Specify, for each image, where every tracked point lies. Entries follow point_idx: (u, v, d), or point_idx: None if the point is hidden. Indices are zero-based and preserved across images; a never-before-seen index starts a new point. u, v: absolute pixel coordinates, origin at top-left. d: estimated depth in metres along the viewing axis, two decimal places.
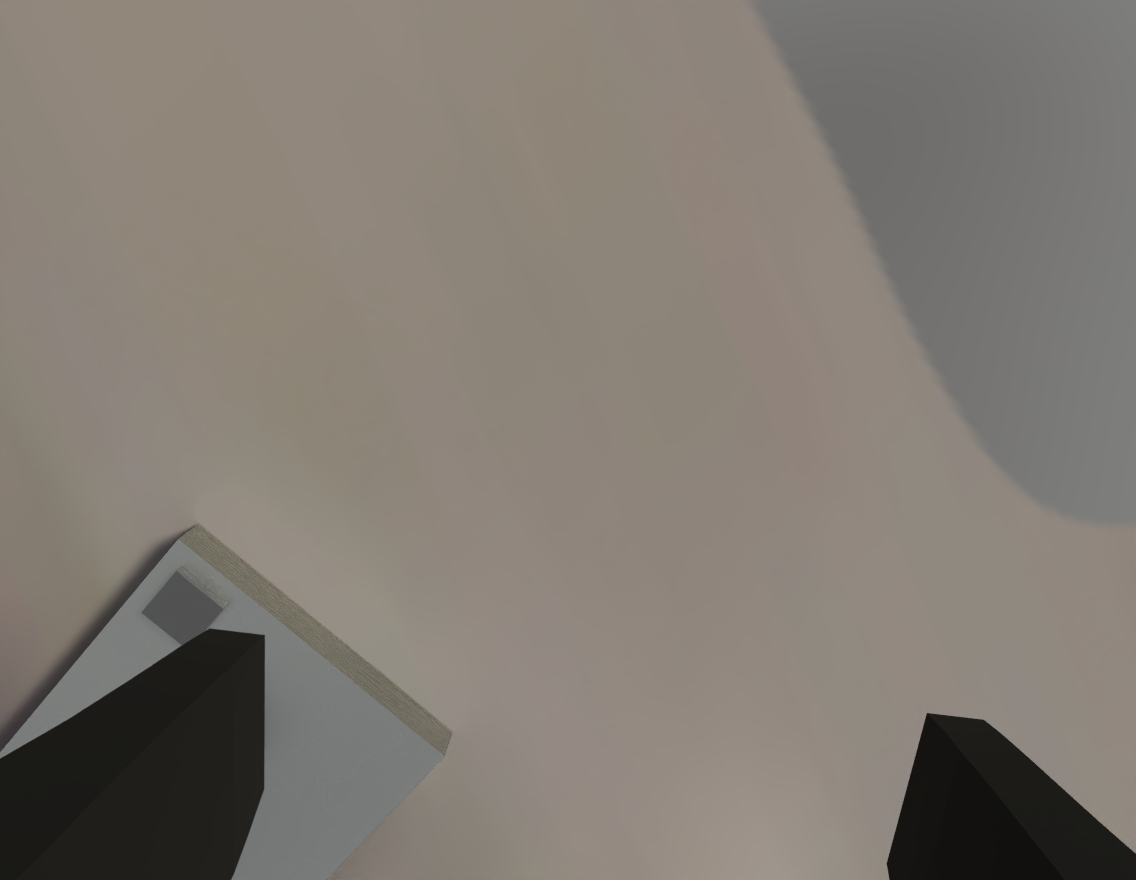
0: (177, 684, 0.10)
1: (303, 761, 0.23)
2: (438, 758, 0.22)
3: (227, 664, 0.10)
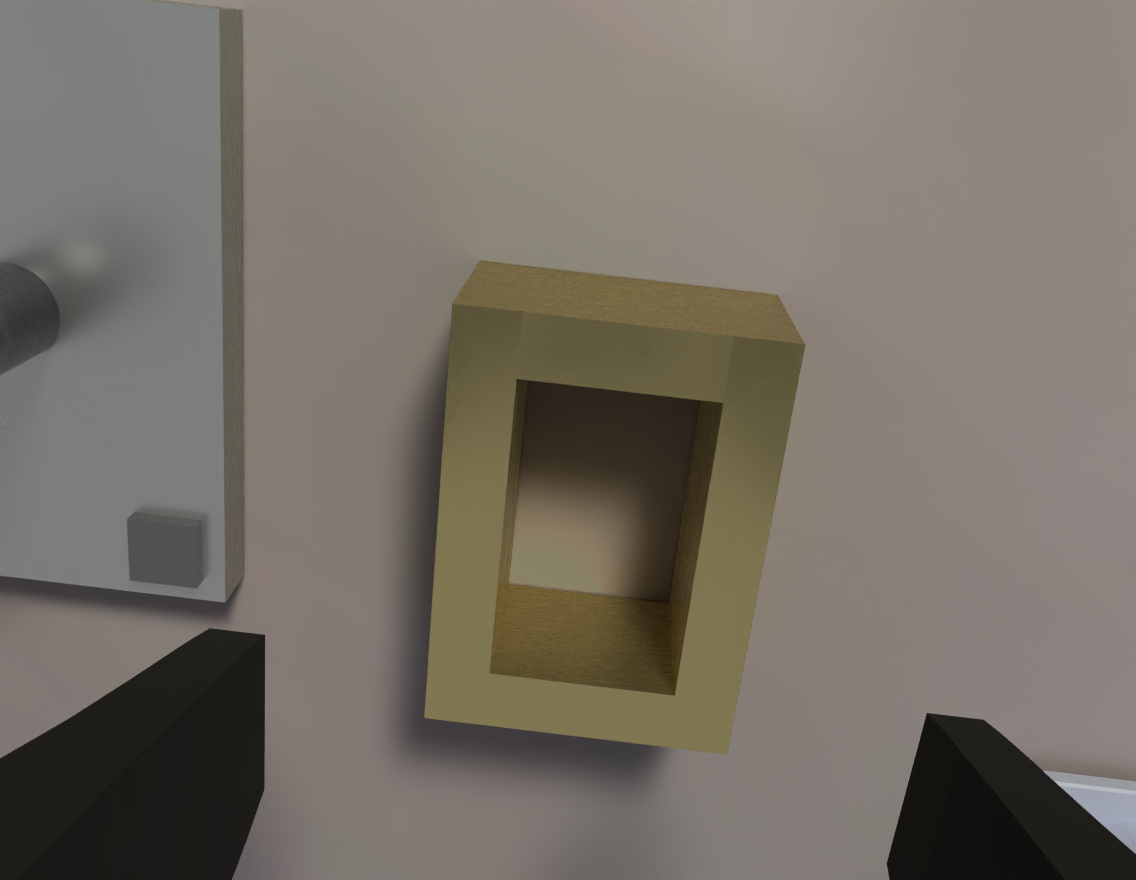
0: (177, 684, 0.10)
1: (86, 140, 0.17)
2: (214, 16, 0.16)
3: (227, 664, 0.10)
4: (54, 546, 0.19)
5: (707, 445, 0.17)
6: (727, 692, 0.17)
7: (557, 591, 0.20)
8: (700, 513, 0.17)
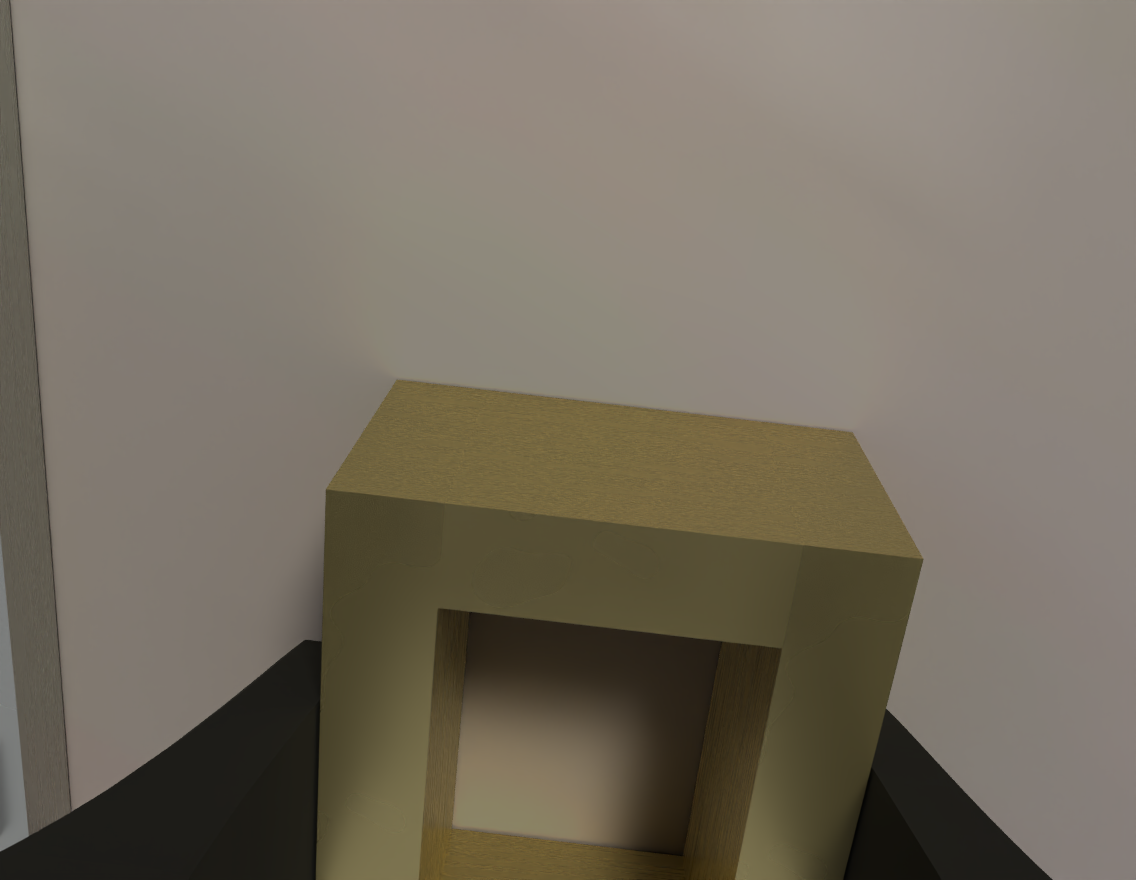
0: (288, 697, 0.10)
1: None
2: None
3: None
4: None
5: (749, 685, 0.11)
6: None
7: (522, 839, 0.14)
8: (738, 795, 0.11)
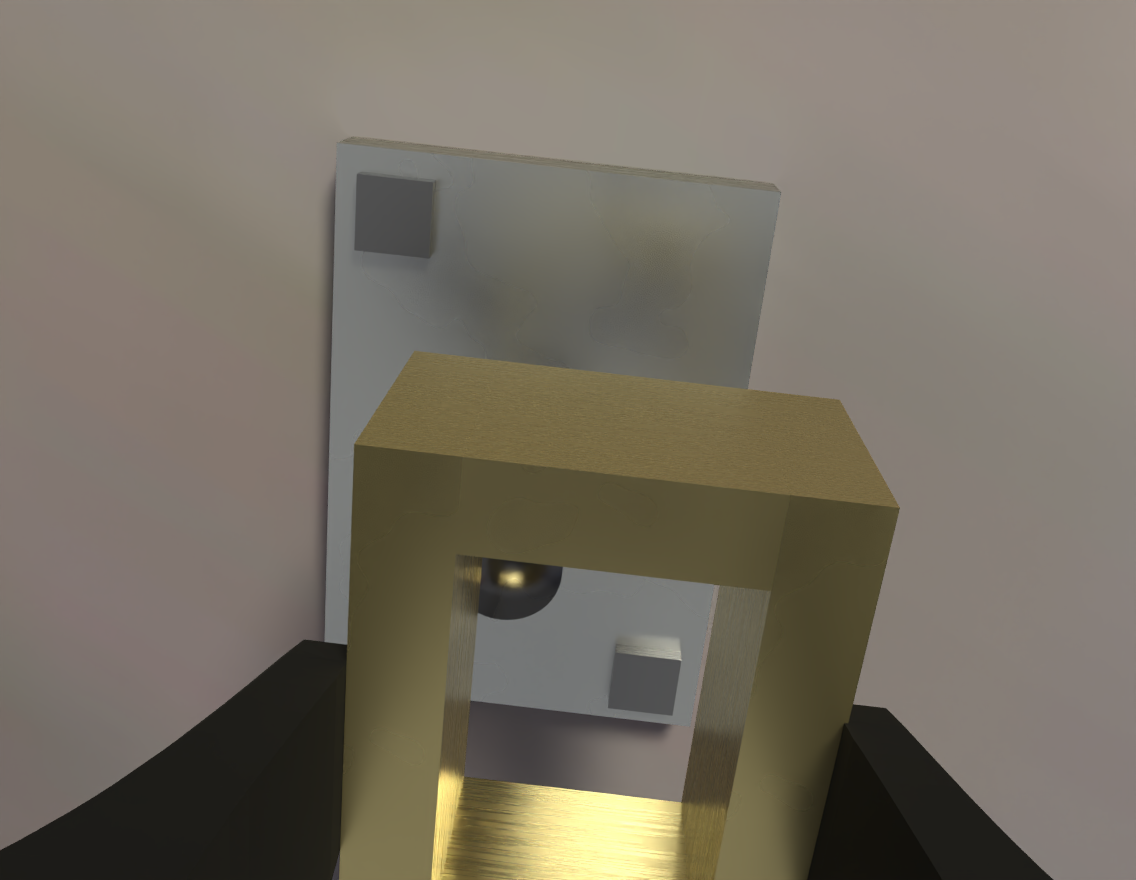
0: (287, 697, 0.10)
1: (630, 309, 0.18)
2: (775, 199, 0.17)
3: (331, 676, 0.10)
4: (532, 674, 0.20)
5: (742, 631, 0.12)
6: None
7: (530, 786, 0.15)
8: (732, 732, 0.11)
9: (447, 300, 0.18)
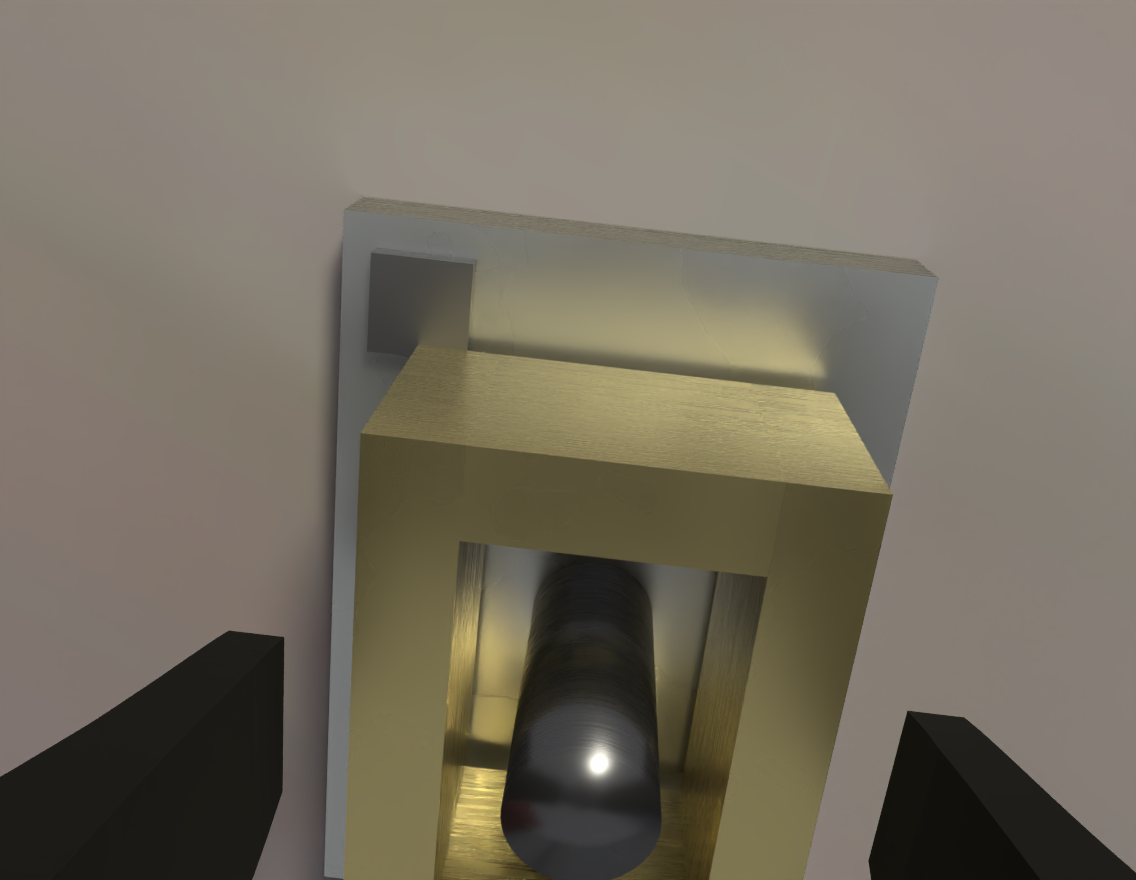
0: (200, 687, 0.10)
1: None
2: (931, 287, 0.13)
3: (248, 667, 0.10)
4: None
5: (739, 618, 0.12)
6: None
7: None
8: (729, 717, 0.12)
9: None
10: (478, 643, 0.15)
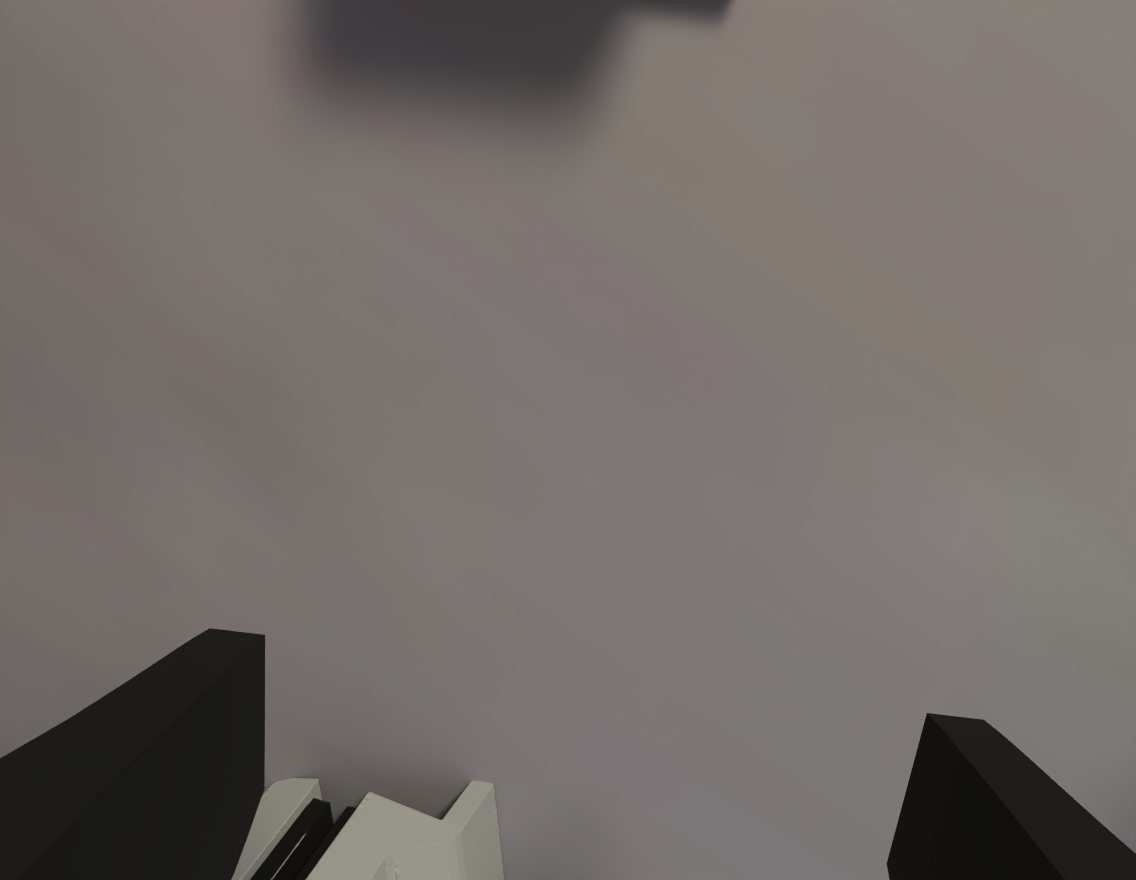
0: (177, 684, 0.10)
1: None
2: None
3: (227, 664, 0.10)
4: None
5: None
6: None
7: None
8: None
9: None
10: None
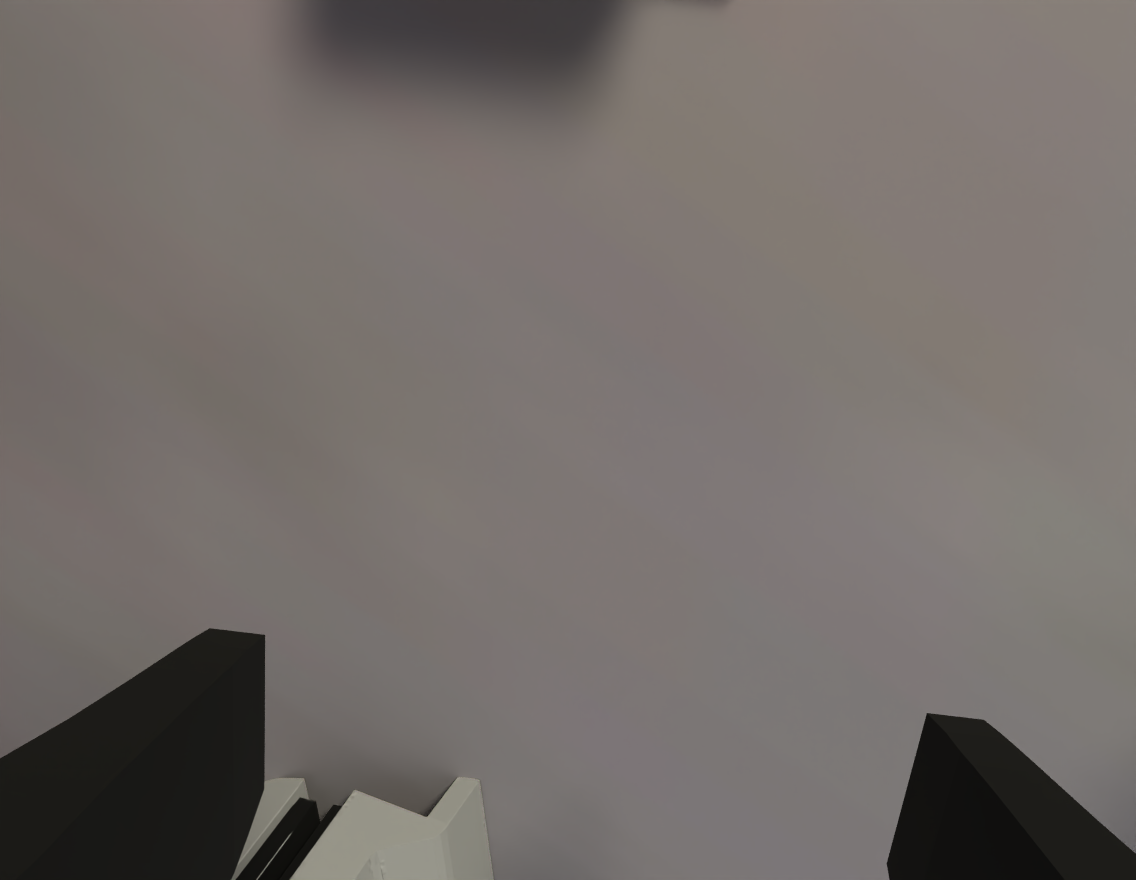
0: (177, 684, 0.10)
1: None
2: None
3: (227, 664, 0.10)
4: None
5: None
6: None
7: None
8: None
9: None
10: None
